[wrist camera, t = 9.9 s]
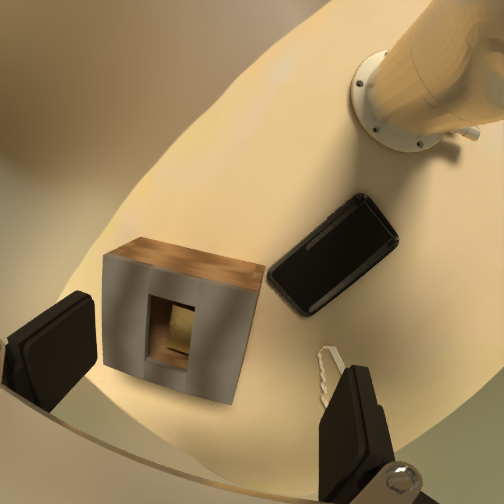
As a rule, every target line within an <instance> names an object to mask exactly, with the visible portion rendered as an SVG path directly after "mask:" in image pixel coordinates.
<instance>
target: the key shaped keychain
mask: <svg viewBox="0 0 504 504" xmlns="http://www.w3.org/2000/svg"><path fill="white" fill-rule="evenodd" d="M323 348H324V349H329V350H330V352H331V354H332V356H333V358H334V360H335V362H336V364H337V366H338V368H339V370H340V372H341V374H343V371H344V369H345V368H346V366H345V364H344V362H343V360H342V358H341V356H340V354H339V352H338V350H337V348H336V346H329V345H324V346H323V347H322V348H321V350H320V351H319V352H318V353H317V356H318V358H319V359H318V361H319V363H320V364H319V365H320V368H321V370H322V371H321V372H320V375H321V377H322V379H323V381H322V382H321V387H322V389H323V391H324V392H323V394H322V395H321V400H322V401H323V403H324V405H325V407H326V408H327V406H328V404H329V403H328V402H327V400H326V398H325V397H324V395H325V394H326V393H327V388H326V386H325V384H324V382H325V381H326V377H325V375H324V371H325V368H324V366H323V361H322V359H321V357H322V354H321V351H322V349H323Z"/></svg>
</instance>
